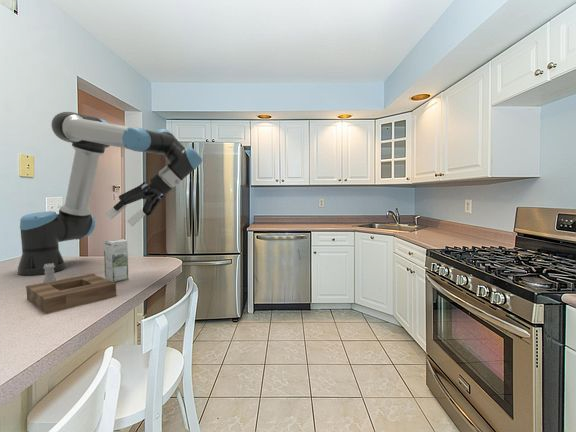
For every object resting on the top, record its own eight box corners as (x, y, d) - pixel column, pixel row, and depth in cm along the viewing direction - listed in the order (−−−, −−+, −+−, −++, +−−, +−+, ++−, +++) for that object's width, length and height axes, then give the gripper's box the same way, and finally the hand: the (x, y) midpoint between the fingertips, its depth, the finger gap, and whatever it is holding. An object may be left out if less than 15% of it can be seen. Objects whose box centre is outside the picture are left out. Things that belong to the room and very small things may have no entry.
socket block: (27, 299, 96) (26, 286, 96) (92, 284, 110) (92, 273, 110) (45, 313, 85) (44, 298, 85) (116, 295, 99) (115, 283, 99)
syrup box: (120, 276, 121) (119, 238, 119) (129, 279, 117) (127, 239, 116) (105, 280, 116) (102, 240, 115) (113, 283, 113) (111, 242, 111)
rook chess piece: (44, 286, 109) (42, 263, 108) (60, 284, 111) (58, 262, 110) (40, 290, 105) (38, 266, 104) (56, 288, 107) (55, 264, 106)
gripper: (156, 176, 105) (105, 221, 103) (183, 196, 130) (142, 232, 127) (142, 161, 106) (91, 204, 104) (172, 183, 131) (131, 219, 128)
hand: (119, 220), depth 116 cm, fingers open, 13 cm apart
